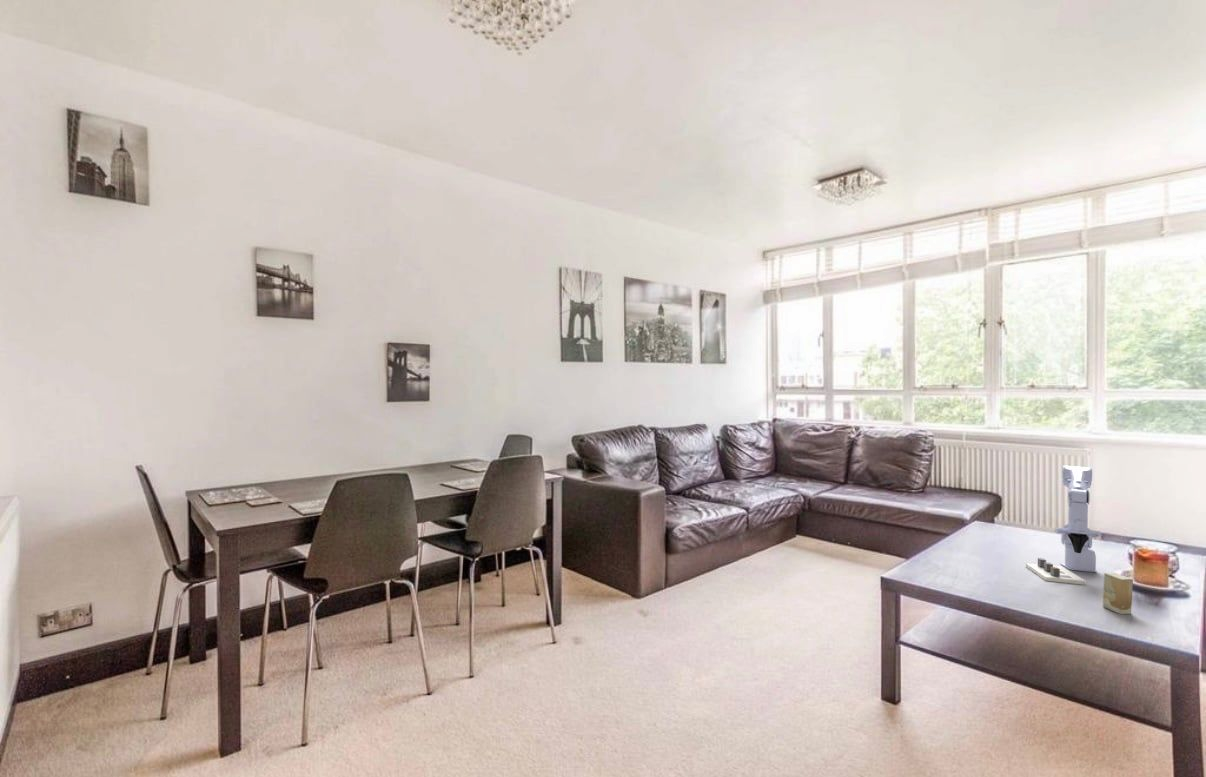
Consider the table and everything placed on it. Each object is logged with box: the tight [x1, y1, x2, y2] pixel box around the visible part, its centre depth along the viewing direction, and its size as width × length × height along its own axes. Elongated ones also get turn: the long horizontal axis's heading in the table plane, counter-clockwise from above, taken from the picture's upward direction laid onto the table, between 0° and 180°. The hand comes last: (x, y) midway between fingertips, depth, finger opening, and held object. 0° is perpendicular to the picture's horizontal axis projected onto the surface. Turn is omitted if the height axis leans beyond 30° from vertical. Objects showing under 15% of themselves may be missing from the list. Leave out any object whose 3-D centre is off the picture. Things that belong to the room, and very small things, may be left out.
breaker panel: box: [1025, 557, 1086, 585], centre depth 220 cm, size 13×17×5 cm
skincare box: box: [1102, 572, 1134, 615], centre depth 186 cm, size 6×4×12 cm
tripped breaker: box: [1051, 565, 1060, 576], centre depth 215 cm, size 2×2×3 cm
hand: (1077, 552), depth 217 cm, fingers closed
